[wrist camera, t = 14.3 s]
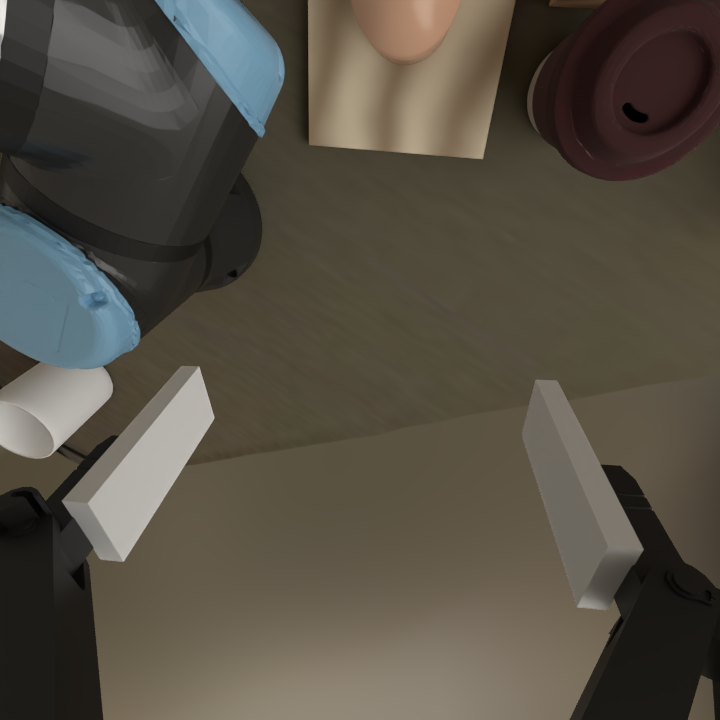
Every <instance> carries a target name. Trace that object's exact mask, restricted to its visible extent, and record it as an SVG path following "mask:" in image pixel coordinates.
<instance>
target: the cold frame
mask: <svg viewBox="0 0 720 720" xmlns="http://www.w3.org/2000/svg"><path fill="white" fill-rule="evenodd" d="M605 1H606V0H550V3H549V6H551V7H569V8H587V9H596V8H598V7H599V6H600V5H601V4H602V3H603V2H605Z"/></svg>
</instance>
